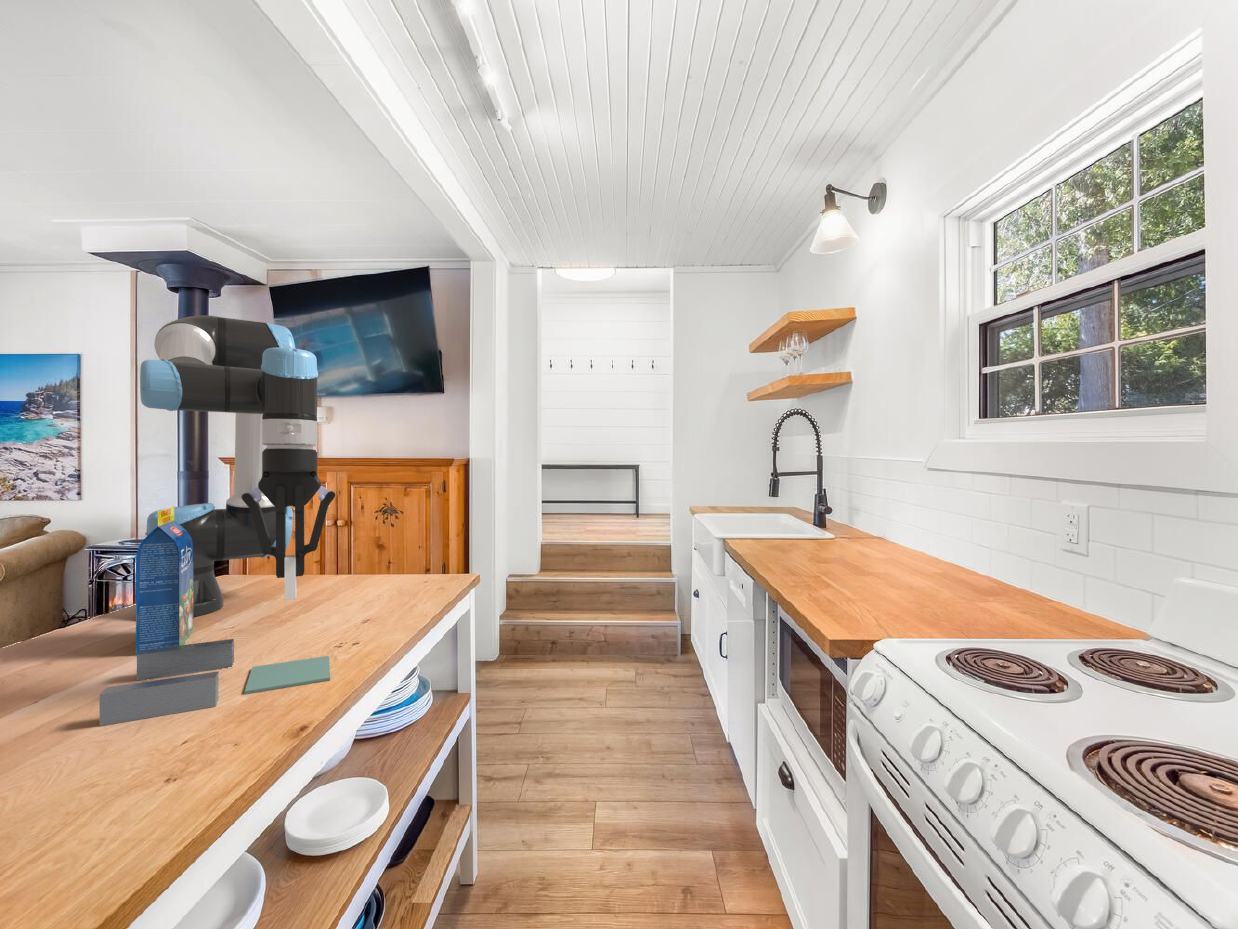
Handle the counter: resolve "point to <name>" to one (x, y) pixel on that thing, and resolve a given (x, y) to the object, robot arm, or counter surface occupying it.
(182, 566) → the blue food package
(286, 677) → the mat
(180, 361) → the robot arm
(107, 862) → the counter surface
